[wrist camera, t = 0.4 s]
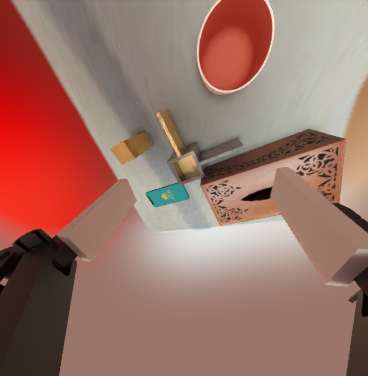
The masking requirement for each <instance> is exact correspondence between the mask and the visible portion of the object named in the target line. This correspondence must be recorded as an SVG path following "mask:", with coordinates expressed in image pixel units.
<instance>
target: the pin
mask: <svg viewBox="0 0 368 376" xmlns="http://www.w3.org/2000/svg"><path fill="white" fill-rule="evenodd" d="M152 145H153V144H152V142H151V140H150V138H149V137H148V135H147V133H146V131H145V132H143V133H141V134H138V135H136V136H134V137H132V138H129V139H127V140H125V141H123V142H121V143H120V144H118V145H116V146H115V147H113V148H111V151H112V152H113V153H114V155H115V156H116V157H117V159H118V160H119V161H120V163H121V164H122V165H123V164H125V163H127V162H129V161H131V160H133V159H135V158H136V157H138V156H139V155H140V154H142V153H143V152H144V151H146V150H147V149H148V148H150V147H151V146H152Z"/></svg>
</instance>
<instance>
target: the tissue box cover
mask: <svg viewBox="0 0 368 376" xmlns="http://www.w3.org/2000/svg"><path fill="white" fill-rule="evenodd" d="M345 143H346V139H343V138H340V137H336V136H332V135H329V134H325V133H321V132H318V131H314V130H310V129H308V130H305V131H303V132H300V133H297V134H294V135H292V136H289V137H286V138H284V139H281V140H278V141H276V142H273V143H270V144H267V145H265V146H262V147H259V148H257V149H254V150H251V151H249V152H246V153H243V154H240V155H238V156H235V157H232V158H230V159H227V160H224V161H222V162H219V163H216V164H213V165H211V166H208V167H206V172H205V177H203V178H201V188H202V190H203V192H204V194H205V196H206V198H207V200H208V202H209V204H210V206H211V208H212V210H213V212H214V214H215V216H216V219H217V221H218V223H219V225H220V226H222V225H227V224H232V223H238V222H243V221H248V220H254V219H259V218H265V217H270V216H275V215H281V213H280V211H279V210H278V208H277V207H276V205H275V204H274V202H273V200H272V199H271V197H270V196H271V191H272V187H273V183H274V178H275V174H276V170H277V168H281V167H289V168H290V169H292V170H293V171H294V172H295V173H296V174H297V175H299V176H300V177H301V178H302V179H303V180H305V181H306V182H307V183H308V184H309V185H311V186H312V187H313V188H314V189H315V190H317V191H318V192H319V193H320V194H321V195H323V196H324V197H325V198H326V199H327V200H328V201H330V202H331V203H339V202H340V192H341V182H342V172H343V162H344V152H345ZM270 190H271V191H270ZM266 191H267V192H266ZM262 192H263V193H262ZM258 193H259V194H258ZM254 194H255V195H254ZM250 195H251V196H250ZM246 196H247V197H246Z"/></svg>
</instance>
